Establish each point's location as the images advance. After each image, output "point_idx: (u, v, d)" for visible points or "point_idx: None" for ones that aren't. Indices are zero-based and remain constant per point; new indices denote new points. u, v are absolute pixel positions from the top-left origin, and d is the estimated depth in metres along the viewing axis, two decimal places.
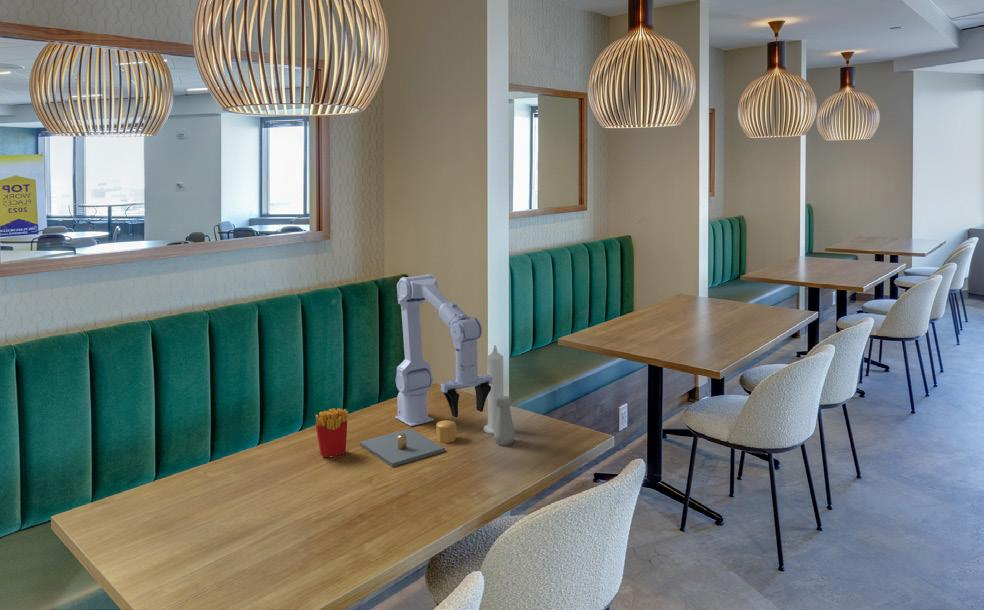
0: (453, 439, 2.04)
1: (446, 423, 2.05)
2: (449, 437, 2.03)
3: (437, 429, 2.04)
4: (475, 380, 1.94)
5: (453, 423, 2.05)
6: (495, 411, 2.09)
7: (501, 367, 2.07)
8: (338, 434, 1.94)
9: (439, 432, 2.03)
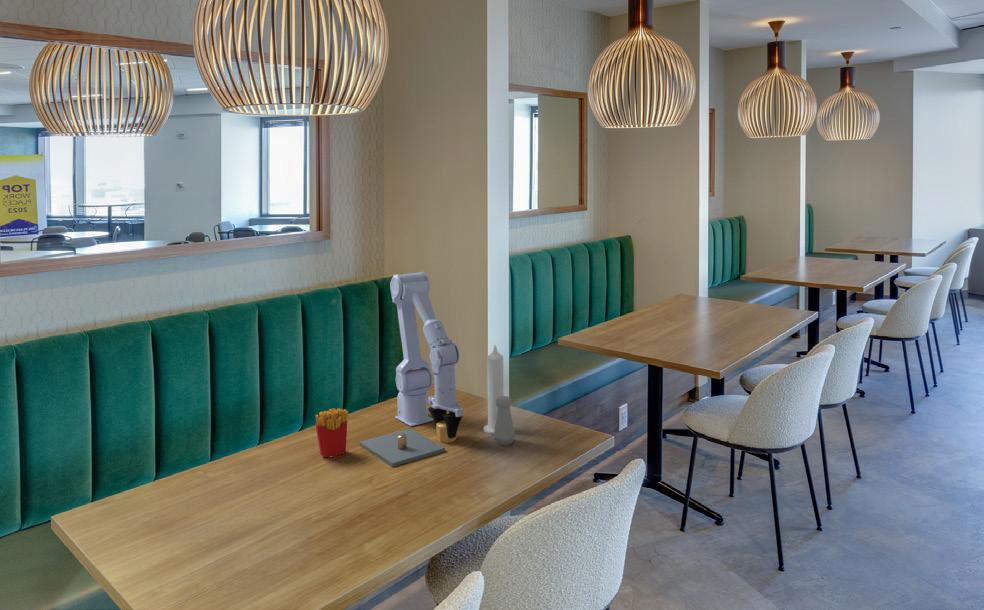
0: (453, 439, 2.04)
1: None
2: None
3: (437, 429, 2.04)
4: (440, 404, 2.01)
5: None
6: (495, 411, 2.09)
7: (501, 367, 2.07)
8: (338, 434, 1.94)
9: (439, 432, 2.03)
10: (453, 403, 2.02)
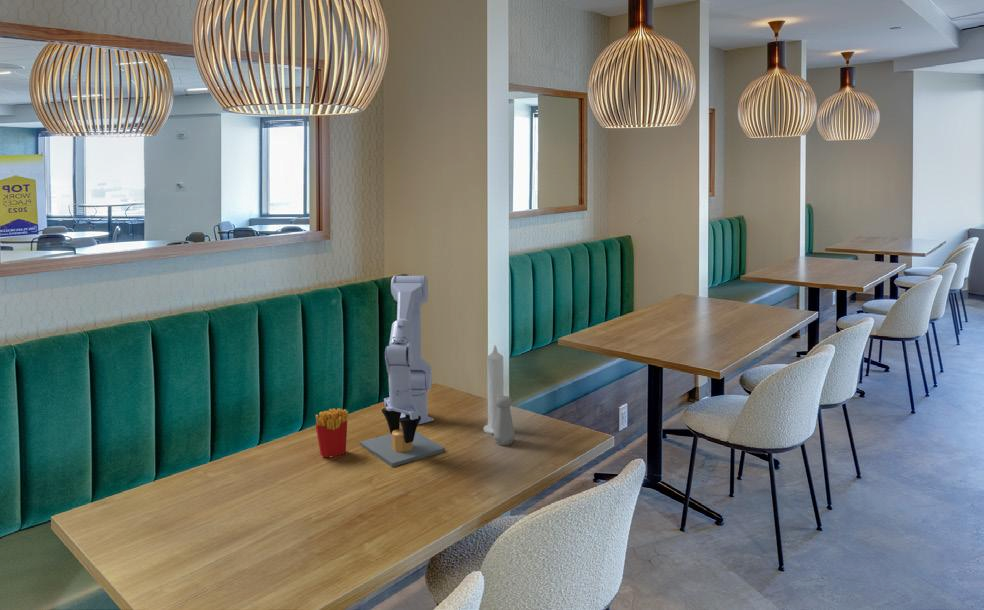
0: (409, 448, 1.96)
1: (402, 431, 1.97)
2: (405, 446, 1.95)
3: (392, 437, 1.96)
4: (394, 407, 1.92)
5: None
6: (495, 411, 2.09)
7: (501, 367, 2.07)
8: (338, 434, 1.94)
9: (394, 440, 1.95)
10: (408, 405, 1.93)
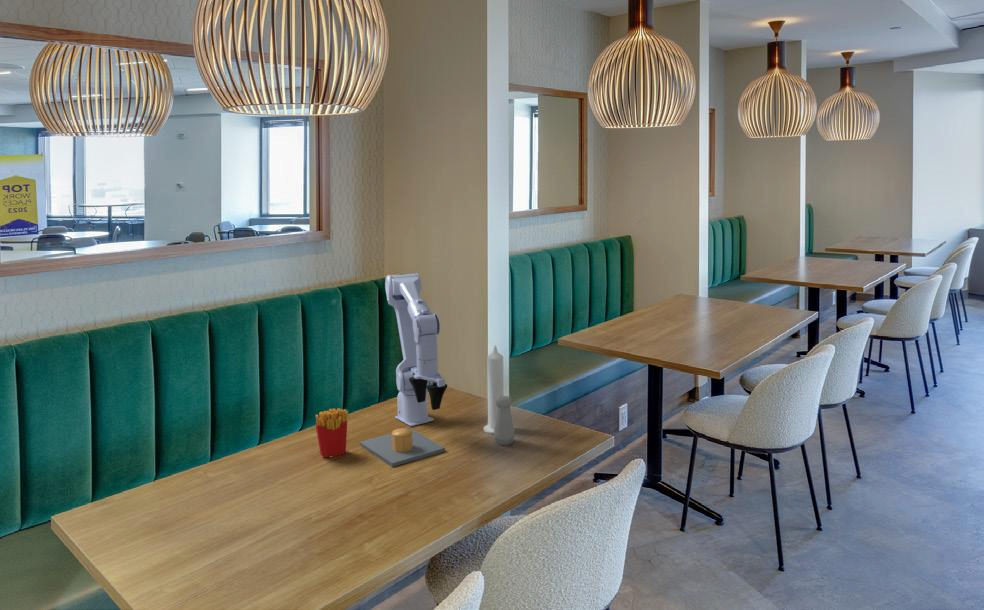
0: (409, 448, 1.96)
1: (402, 431, 1.97)
2: (405, 446, 1.95)
3: (392, 437, 1.96)
4: (422, 375, 2.01)
5: (409, 431, 1.97)
6: (495, 411, 2.09)
7: (501, 367, 2.07)
8: (338, 434, 1.94)
9: (394, 440, 1.95)
10: (435, 373, 2.02)
